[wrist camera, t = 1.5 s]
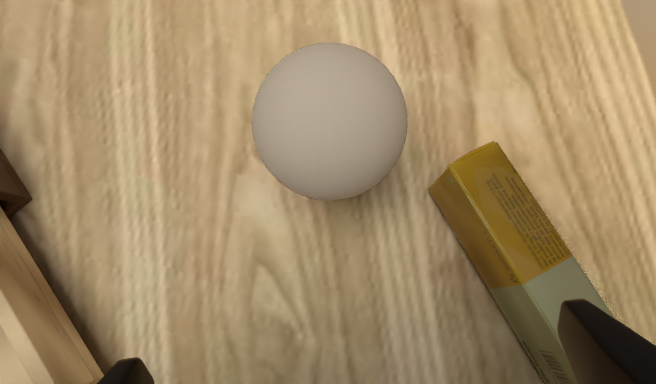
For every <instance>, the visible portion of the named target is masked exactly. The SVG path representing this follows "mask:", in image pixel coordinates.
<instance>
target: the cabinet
mask: <svg viewBox="0 0 656 384" xmlns="http://www.w3.org/2000/svg"><path fill="white" fill-rule="evenodd" d="M30 200H32V198H31V197H30V195H29V194H28V192H27V191H26V189H25V187H24V186H23V184H22V183H21V181H20V179H19V178H18V176H17V175H16V173H15V172H14V170H13V168H12V167H11V165H10V164H9V162H8V161H7V159H6V157H5V156H4V154H3V153H2V151H1V150H0V206H1V208H2V209H3V211H4V213H5V214H6V216H7V218H8V217H10V216H11V215H12V214H14V213H15V212H16V211H18V210H19V209H20V208H21V207H23V206H24V205H25V204H27V203H28V202H29V201H30Z"/></svg>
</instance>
